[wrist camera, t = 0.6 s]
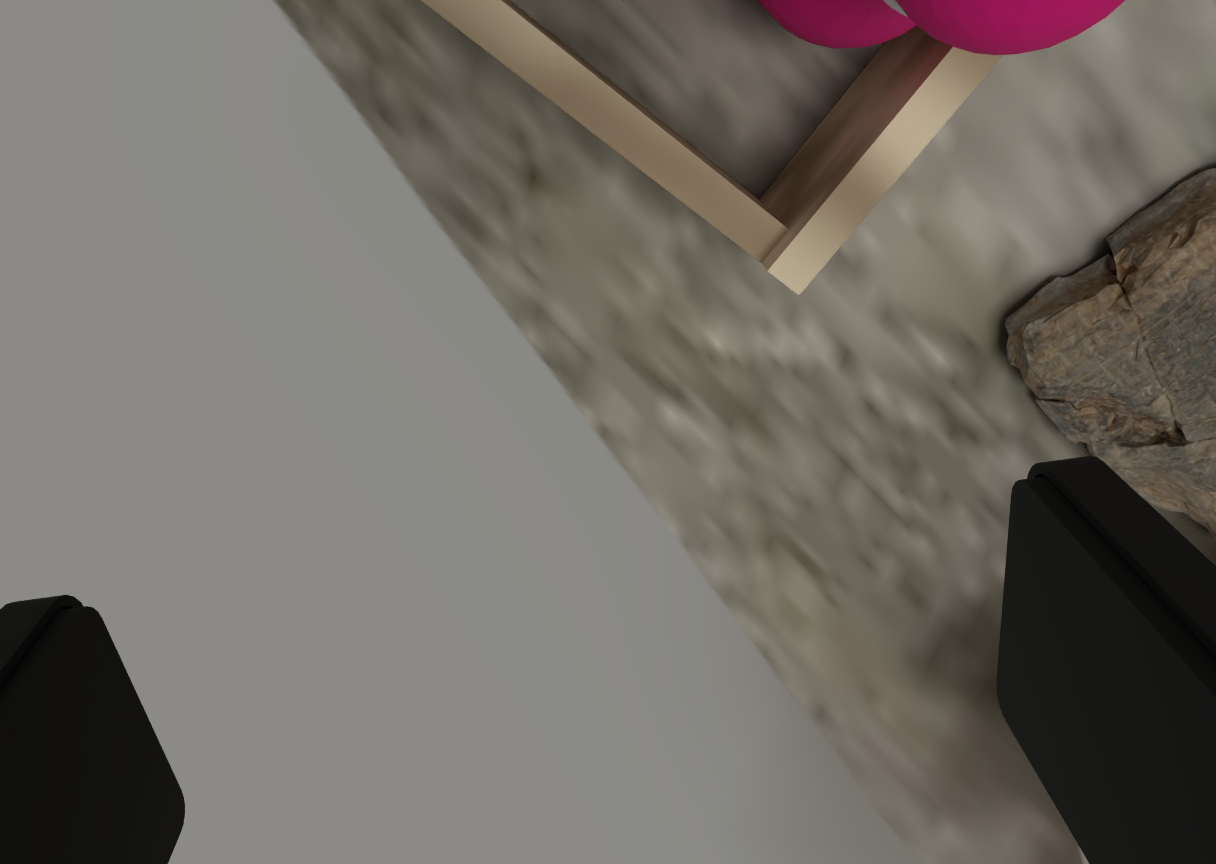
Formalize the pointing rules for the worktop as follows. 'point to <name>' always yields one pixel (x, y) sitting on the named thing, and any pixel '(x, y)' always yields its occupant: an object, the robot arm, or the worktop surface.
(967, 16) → the pepper mill
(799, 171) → the oak rack
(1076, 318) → the clay tablet
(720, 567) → the worktop surface
